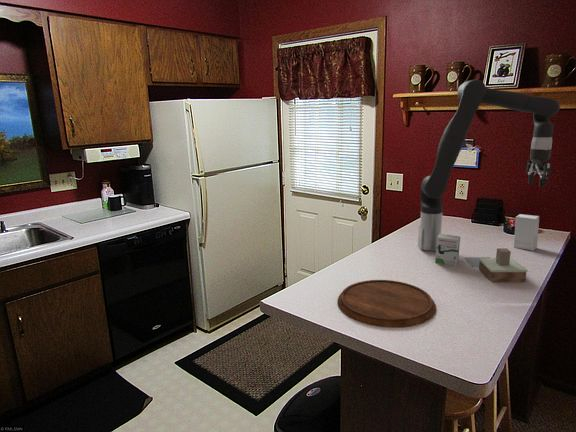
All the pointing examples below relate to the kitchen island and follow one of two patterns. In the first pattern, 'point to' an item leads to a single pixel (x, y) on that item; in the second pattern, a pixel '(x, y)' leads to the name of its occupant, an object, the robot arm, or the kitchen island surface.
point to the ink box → (447, 249)
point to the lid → (502, 262)
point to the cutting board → (386, 303)
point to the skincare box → (526, 232)
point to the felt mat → (473, 260)
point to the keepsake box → (502, 275)
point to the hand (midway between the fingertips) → (536, 185)
